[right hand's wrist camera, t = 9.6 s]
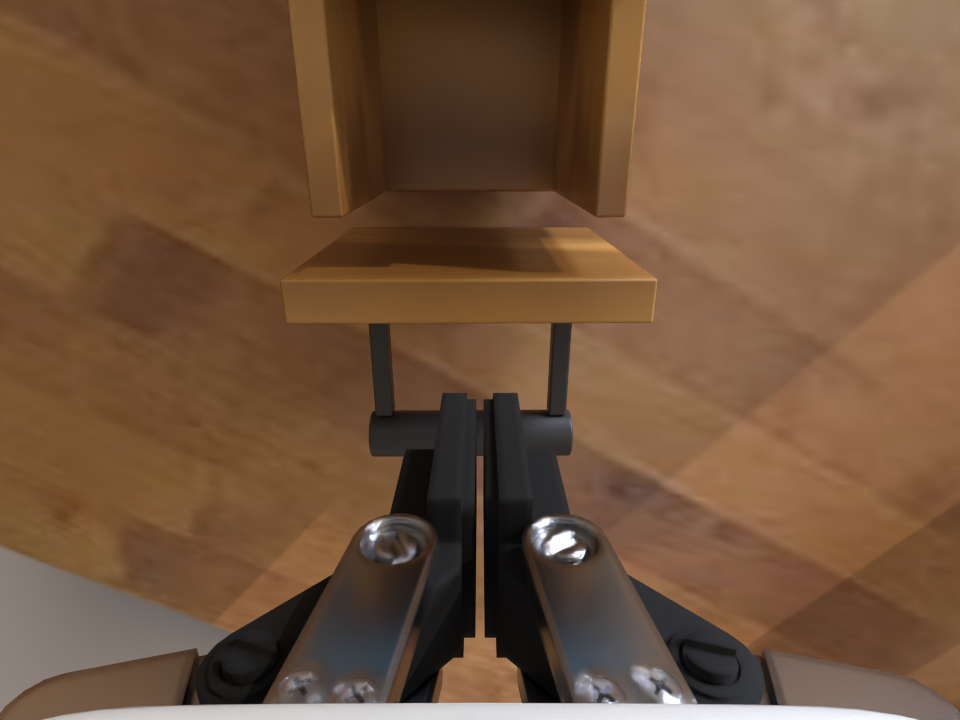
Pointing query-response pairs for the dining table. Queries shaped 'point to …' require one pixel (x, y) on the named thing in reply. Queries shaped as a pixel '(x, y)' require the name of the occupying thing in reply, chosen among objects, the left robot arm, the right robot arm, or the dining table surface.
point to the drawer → (467, 176)
